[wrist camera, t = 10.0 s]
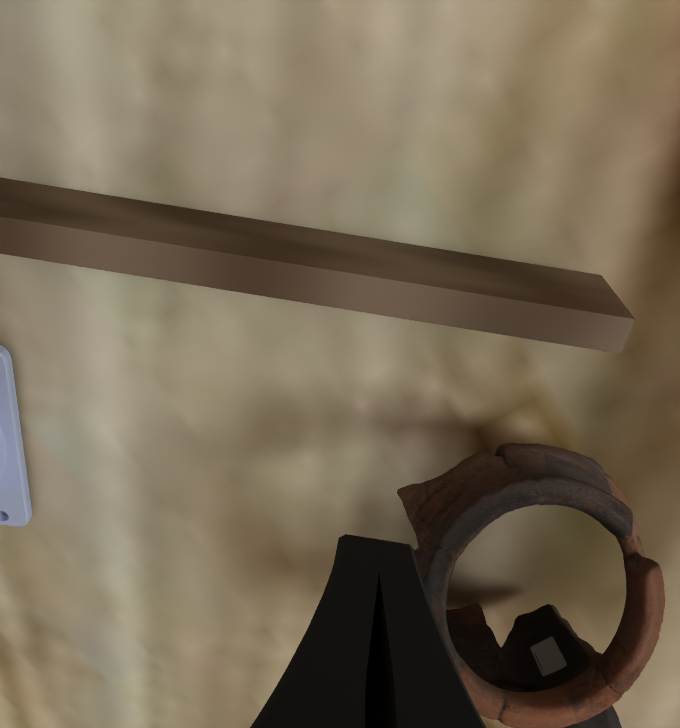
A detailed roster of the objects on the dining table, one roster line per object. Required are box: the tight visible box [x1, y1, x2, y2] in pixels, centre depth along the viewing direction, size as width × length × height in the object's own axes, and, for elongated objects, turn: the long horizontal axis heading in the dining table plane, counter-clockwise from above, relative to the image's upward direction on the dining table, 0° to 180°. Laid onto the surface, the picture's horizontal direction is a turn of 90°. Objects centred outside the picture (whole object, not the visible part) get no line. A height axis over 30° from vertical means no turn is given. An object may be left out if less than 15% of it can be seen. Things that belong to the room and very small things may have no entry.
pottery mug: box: [397, 443, 665, 728], centre depth 22 cm, size 12×9×8 cm
